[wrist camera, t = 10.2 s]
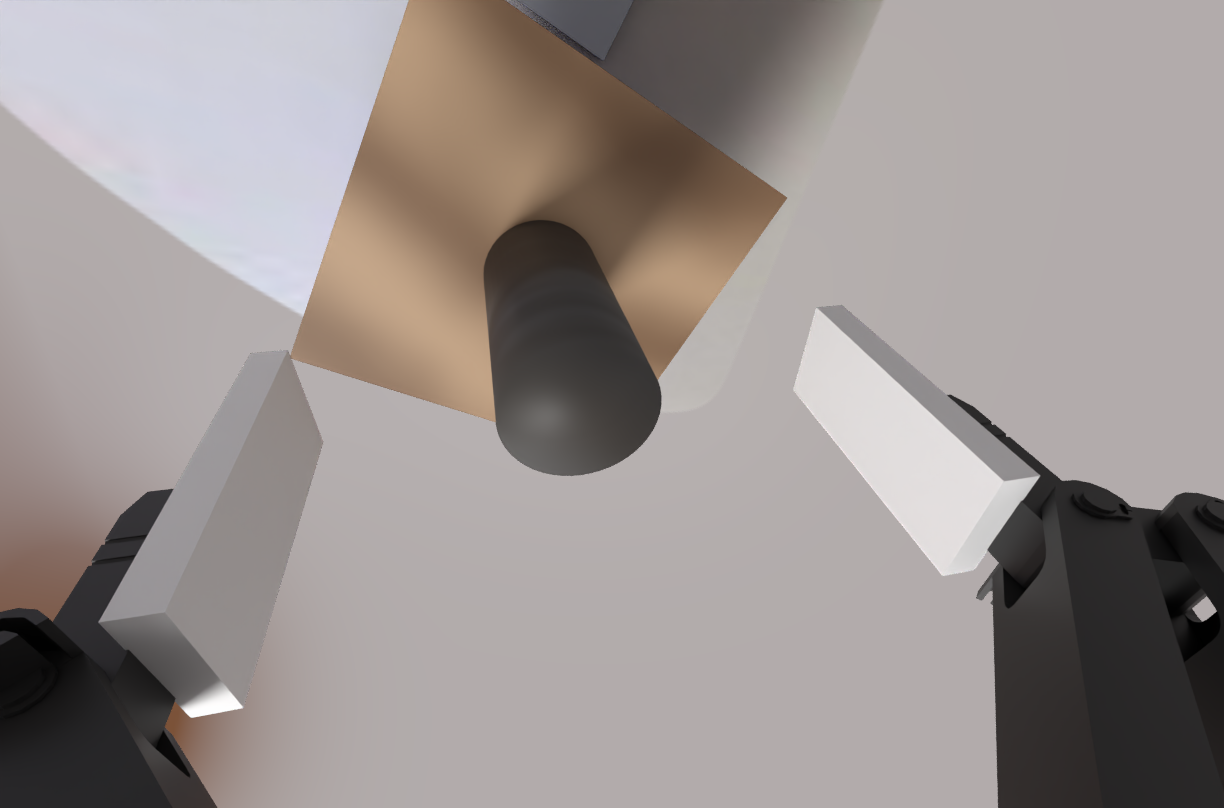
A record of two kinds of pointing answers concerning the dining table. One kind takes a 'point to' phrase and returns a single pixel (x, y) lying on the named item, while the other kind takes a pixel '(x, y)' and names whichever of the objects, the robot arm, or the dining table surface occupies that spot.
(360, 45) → the dining table surface
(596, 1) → the mat
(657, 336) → the lid
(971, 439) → the robot arm
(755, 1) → the dining table surface
